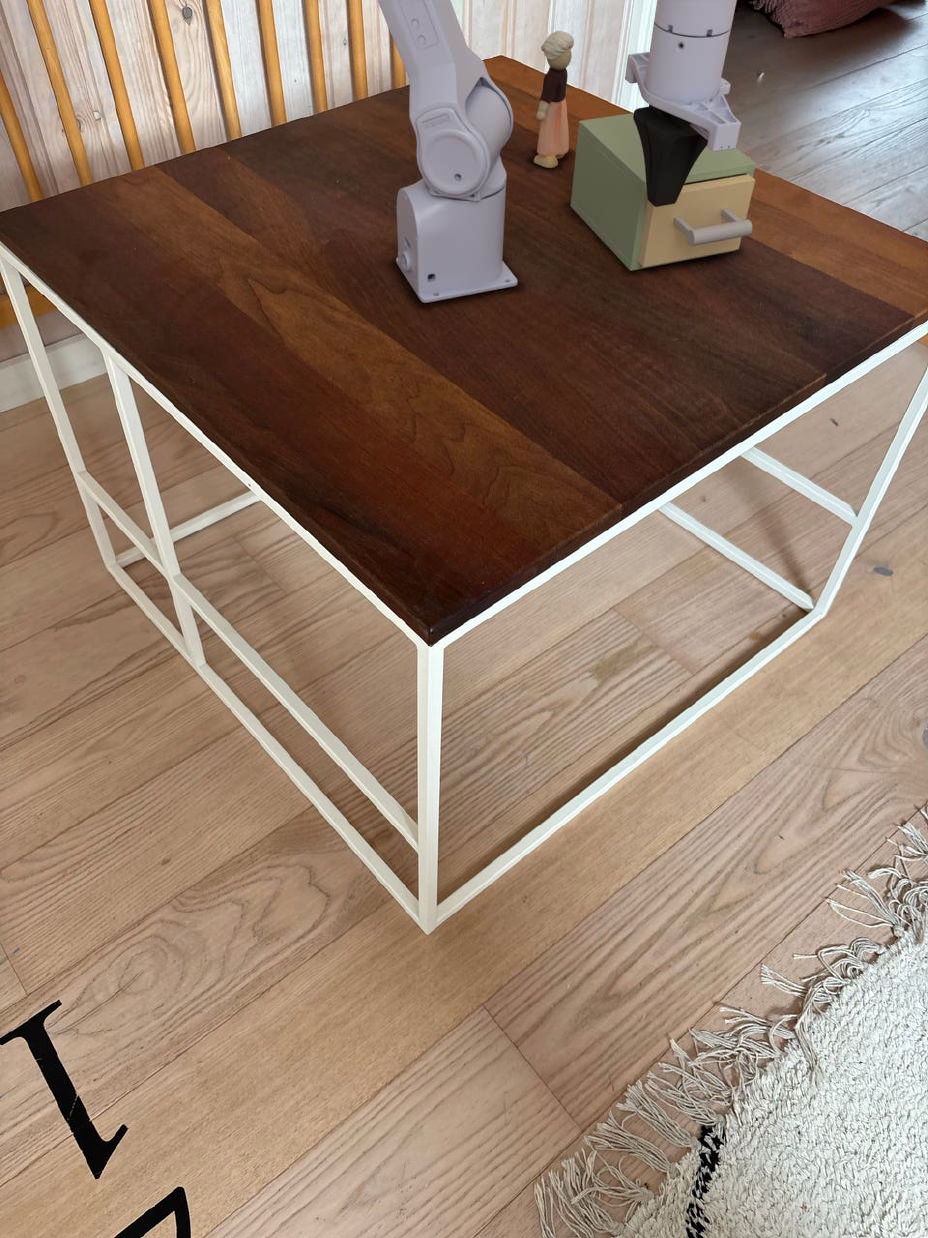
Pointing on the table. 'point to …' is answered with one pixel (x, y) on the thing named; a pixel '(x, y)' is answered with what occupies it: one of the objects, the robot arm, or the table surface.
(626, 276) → the table surface
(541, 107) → the grandmother figurine
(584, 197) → the cabinet
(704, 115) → the robot arm
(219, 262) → the table surface
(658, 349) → the table surface
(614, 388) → the table surface
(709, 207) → the drawer
